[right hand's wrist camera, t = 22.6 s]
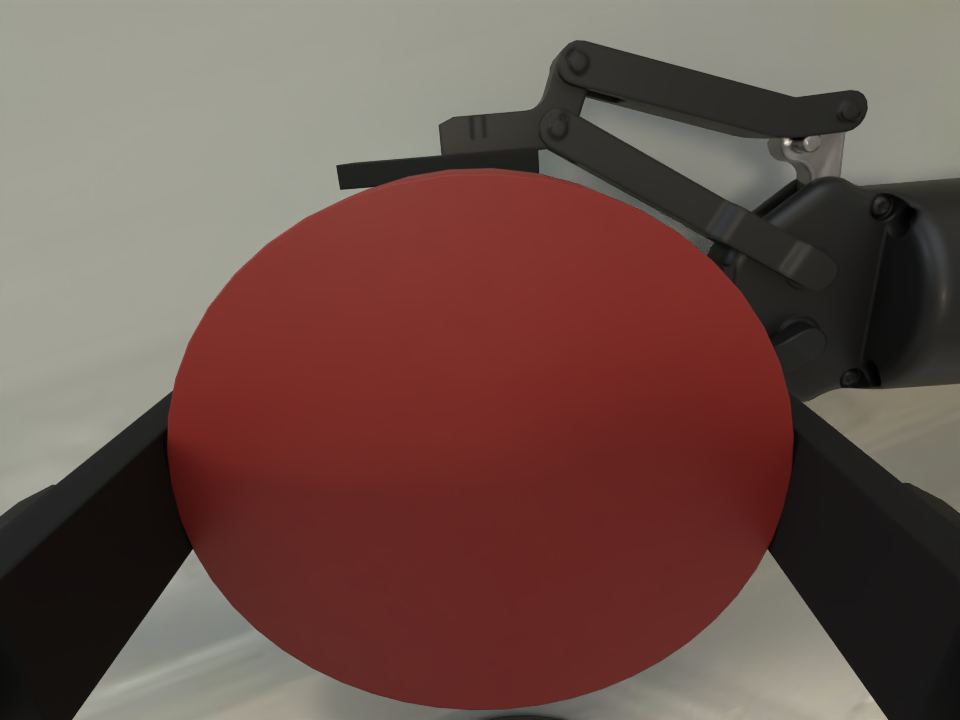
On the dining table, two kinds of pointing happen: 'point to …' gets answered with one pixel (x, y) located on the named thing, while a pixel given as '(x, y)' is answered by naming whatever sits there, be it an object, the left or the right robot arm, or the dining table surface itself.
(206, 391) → the lid
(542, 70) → the dining table surface
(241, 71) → the dining table surface
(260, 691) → the dining table surface
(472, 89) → the dining table surface
